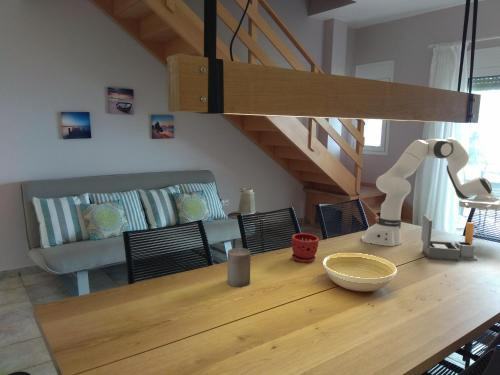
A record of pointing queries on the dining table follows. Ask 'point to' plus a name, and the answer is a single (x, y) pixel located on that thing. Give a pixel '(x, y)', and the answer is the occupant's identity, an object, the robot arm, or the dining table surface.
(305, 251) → the plant pot
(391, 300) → the dining table surface
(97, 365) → the dining table surface
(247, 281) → the pillar candle
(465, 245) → the grey square holder
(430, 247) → the equipment case
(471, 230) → the rod
